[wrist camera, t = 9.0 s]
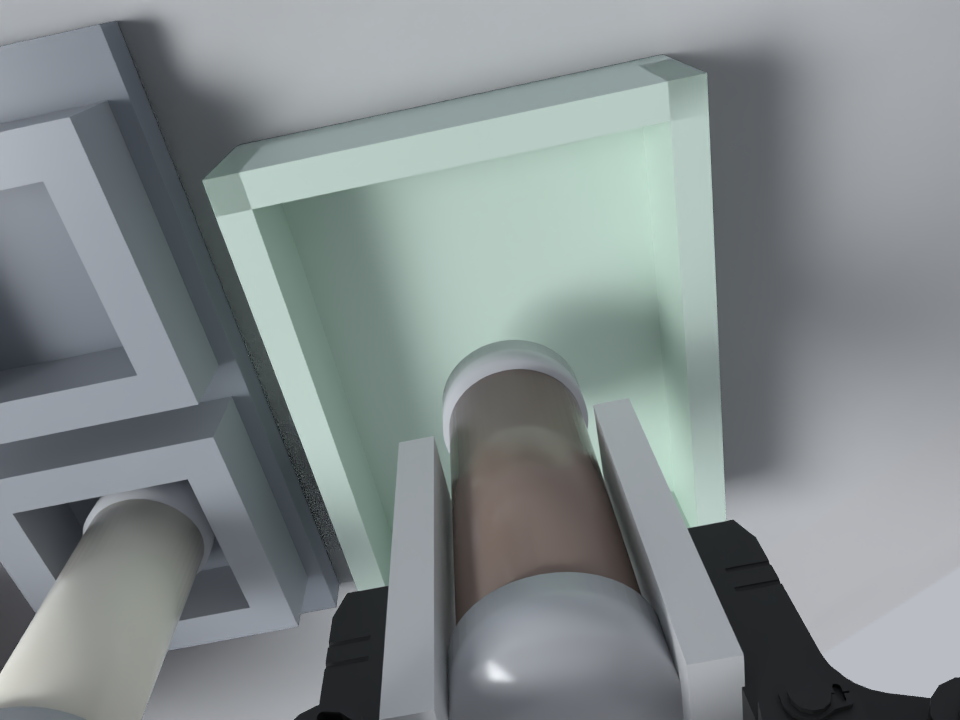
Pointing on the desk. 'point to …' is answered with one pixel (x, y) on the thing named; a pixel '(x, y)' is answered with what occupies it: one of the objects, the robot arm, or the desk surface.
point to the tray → (485, 272)
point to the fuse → (110, 610)
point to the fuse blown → (541, 555)
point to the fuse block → (129, 349)
